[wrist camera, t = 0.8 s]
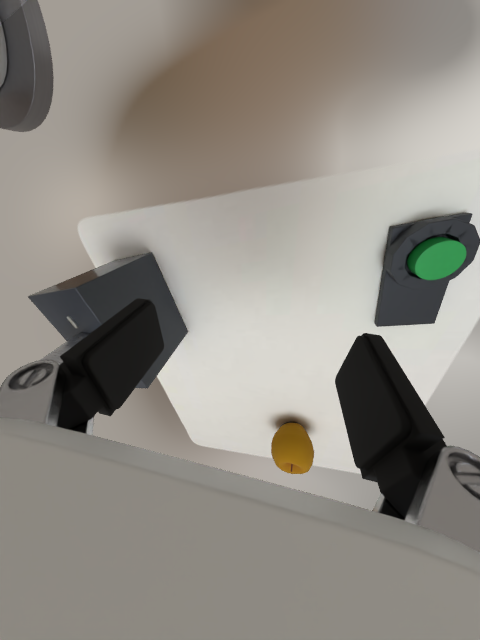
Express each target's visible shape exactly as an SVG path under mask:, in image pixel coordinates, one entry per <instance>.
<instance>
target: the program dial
mask: <svg viewBox="0 0 480 640" xmlns="http://www.w3.org/2000/svg"><path fill="white" fill-rule="evenodd" d="M87 335H89V334H86V333H79V334H77V335H76V336H74V337H73V338H71V339H70V340H68V341H67V342H65V343H64V344H62V345H61V346H60V347H58V348H57V349H55V350H54V351H52V352H51V353H49V354H48V355H46V356H45V357H44V358H42V359H41V360H45V359H48V360H54V361H56V362H57V363H58V364H59V365H60V364H61V363H62V362H63V361H62V359H61V358H60V356H61V355H62V354H63V353H65V352H66V351H67V350H69V349H70V348H71V347H73V346H74V345H75V344H77V343H78V342H79V341H81V340H82V339H83V338H85V337H86V336H87Z"/></svg>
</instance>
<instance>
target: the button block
mask: <svg viewBox="0 0 480 640" xmlns="http://www.w3.org/2000/svg"><path fill="white" fill-rule="evenodd" d="M471 217H472V214H471V213H461V214H455V215H450V216H445V217H444V216H442V217H437V218H432V219H426V220H422V221H418V222H412V223H407V224H401V225H396V226H391V227H390V228H389V234H388V241H387V247H386V253H385V260H384V266H383V273H382V279H381V285H380V292H379V298H378V305H377V311H376V317H375V324H376V326H377V327H378V326H396V325H414V324H432V323H435V320H436V317H437V314H438V311H439V308H440V306H441V303H442V300H443V297H444V294H445V291H446V288H447V286H448V283H449V280H451V279H453V278H455V277H457V276H458V275H459V274H460V273H461V272H462V271H463V270H464V269H465V268H466V267H467V266H468V265H469V264H470V263H471V262H472V261H473V260H474V257H475V255H476V252H477V250H478V247H479V245H480V238H479V236H478V233H477V231H476V228H475V226H474V225H472V224H470V223H469V222H470V220H471ZM435 237H445V238H449V239H452V240H455V241H458V242H460V243H462V244H463V245H464V246H465V248H466V258H465V260H464V262H463V264H462V265H461V266H460V267H459V268H458V269H457V270H456V271H455V272H453V273H452V274H450V275H448V276H446V277H444V278H441V279H437V280H425V279H422V278H420V277H419V276H417V275H416V274H414V273H413V272H411V271H410V270H409V268H408V265H407V261H408V257H409V255H410V253H411V252H412V251H413V249H414V248H415V247H416V246H418V245H419V244H420V243H422V242H424V241H426V240H428V239H431V238H435Z"/></svg>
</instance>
